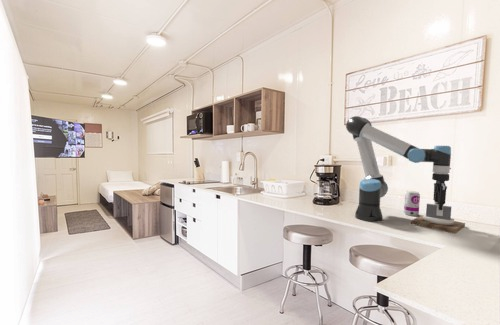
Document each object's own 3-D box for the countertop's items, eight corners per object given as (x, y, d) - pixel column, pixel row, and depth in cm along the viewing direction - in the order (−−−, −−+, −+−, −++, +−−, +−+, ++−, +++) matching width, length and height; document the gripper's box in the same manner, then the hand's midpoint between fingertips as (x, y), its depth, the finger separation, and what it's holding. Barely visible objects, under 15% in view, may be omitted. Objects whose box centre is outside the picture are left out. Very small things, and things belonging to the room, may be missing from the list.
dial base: (410, 223, 143) (411, 220, 143) (423, 218, 156) (423, 214, 155) (455, 233, 128) (455, 229, 127) (464, 226, 140) (465, 222, 140)
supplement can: (421, 216, 160) (423, 193, 159) (408, 216, 160) (410, 192, 159) (413, 213, 168) (414, 190, 167) (401, 212, 168) (402, 190, 168)
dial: (421, 221, 140) (422, 205, 140) (423, 216, 151) (424, 201, 151) (453, 226, 132) (455, 209, 131) (453, 221, 142) (454, 205, 142)
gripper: (454, 175, 131) (451, 219, 132) (444, 172, 146) (441, 211, 148) (437, 174, 133) (434, 217, 135) (428, 171, 149) (426, 210, 151)
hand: (438, 214), depth 141 cm, fingers closed on dial, 4 cm apart
